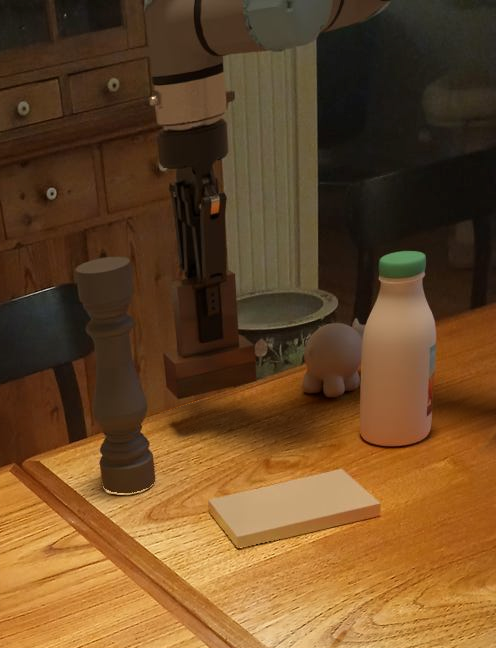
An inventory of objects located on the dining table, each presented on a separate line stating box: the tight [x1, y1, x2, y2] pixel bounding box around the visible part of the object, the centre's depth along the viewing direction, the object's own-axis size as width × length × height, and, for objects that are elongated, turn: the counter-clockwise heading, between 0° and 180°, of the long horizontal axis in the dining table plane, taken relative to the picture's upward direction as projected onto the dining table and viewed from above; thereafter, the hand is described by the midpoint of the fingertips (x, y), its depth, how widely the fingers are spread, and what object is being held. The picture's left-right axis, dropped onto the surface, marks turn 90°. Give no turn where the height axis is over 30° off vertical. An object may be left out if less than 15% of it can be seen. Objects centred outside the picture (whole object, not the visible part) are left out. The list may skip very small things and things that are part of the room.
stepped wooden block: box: [162, 268, 257, 400], centre depth 119 cm, size 10×5×13 cm, turn 99°
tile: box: [207, 468, 382, 549], centre depth 102 cm, size 15×9×2 cm, turn 99°
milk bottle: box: [359, 250, 437, 447], centre depth 108 cm, size 8×8×20 cm
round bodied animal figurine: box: [301, 317, 366, 398], centre depth 126 cm, size 7×12×8 cm, turn 121°
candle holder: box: [74, 256, 156, 493], centre depth 108 cm, size 6×6×25 cm
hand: (207, 336), depth 119 cm, fingers closed on stepped wooden block, 3 cm apart
